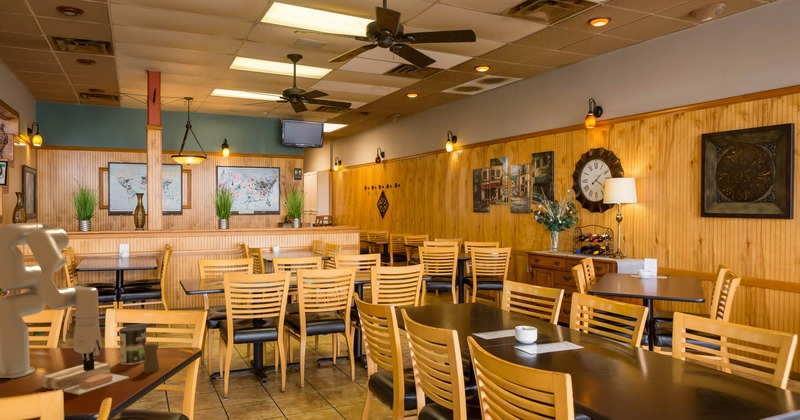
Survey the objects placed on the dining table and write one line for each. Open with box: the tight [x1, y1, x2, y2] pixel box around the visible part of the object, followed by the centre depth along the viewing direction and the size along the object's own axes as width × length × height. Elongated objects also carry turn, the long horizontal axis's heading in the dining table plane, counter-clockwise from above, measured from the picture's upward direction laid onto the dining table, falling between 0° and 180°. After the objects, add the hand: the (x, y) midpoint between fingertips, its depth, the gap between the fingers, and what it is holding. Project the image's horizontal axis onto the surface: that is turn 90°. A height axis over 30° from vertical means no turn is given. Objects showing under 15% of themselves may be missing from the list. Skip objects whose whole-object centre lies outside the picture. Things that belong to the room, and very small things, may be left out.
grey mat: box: [63, 373, 130, 396], centre depth 206 cm, size 11×20×1 cm, turn 154°
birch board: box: [41, 361, 111, 391], centre depth 211 cm, size 10×20×4 cm, turn 154°
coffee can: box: [118, 325, 147, 366], centre depth 235 cm, size 10×10×14 cm
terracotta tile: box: [79, 373, 113, 388], centre depth 206 cm, size 6×9×2 cm, turn 154°
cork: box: [142, 342, 160, 374], centre depth 221 cm, size 6×6×11 cm
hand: (89, 369), depth 207 cm, fingers closed
